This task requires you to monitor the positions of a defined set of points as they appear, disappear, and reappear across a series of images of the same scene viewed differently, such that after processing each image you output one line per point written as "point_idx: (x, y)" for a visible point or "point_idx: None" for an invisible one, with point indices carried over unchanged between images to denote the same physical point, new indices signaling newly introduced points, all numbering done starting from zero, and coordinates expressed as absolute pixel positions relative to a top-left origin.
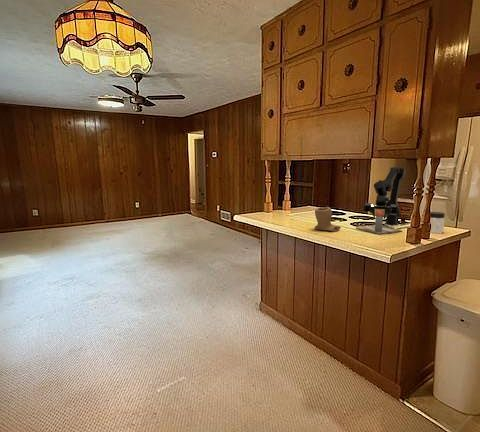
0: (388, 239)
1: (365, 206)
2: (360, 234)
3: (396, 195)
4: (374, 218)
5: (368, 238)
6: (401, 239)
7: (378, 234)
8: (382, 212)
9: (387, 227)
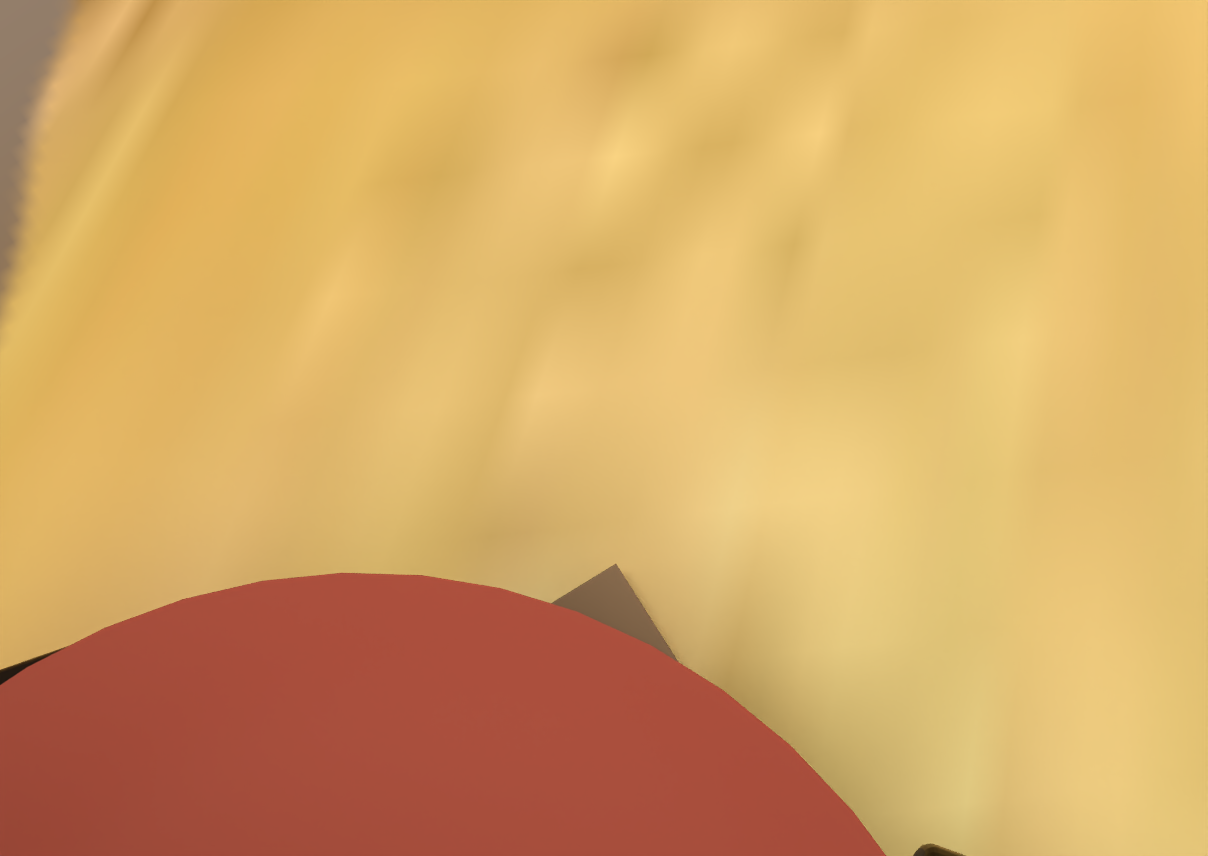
0: (503, 65)
1: None
2: None
3: None
4: (934, 847)
5: (1044, 103)
6: (136, 105)
7: (632, 598)
8: (117, 667)
9: None
